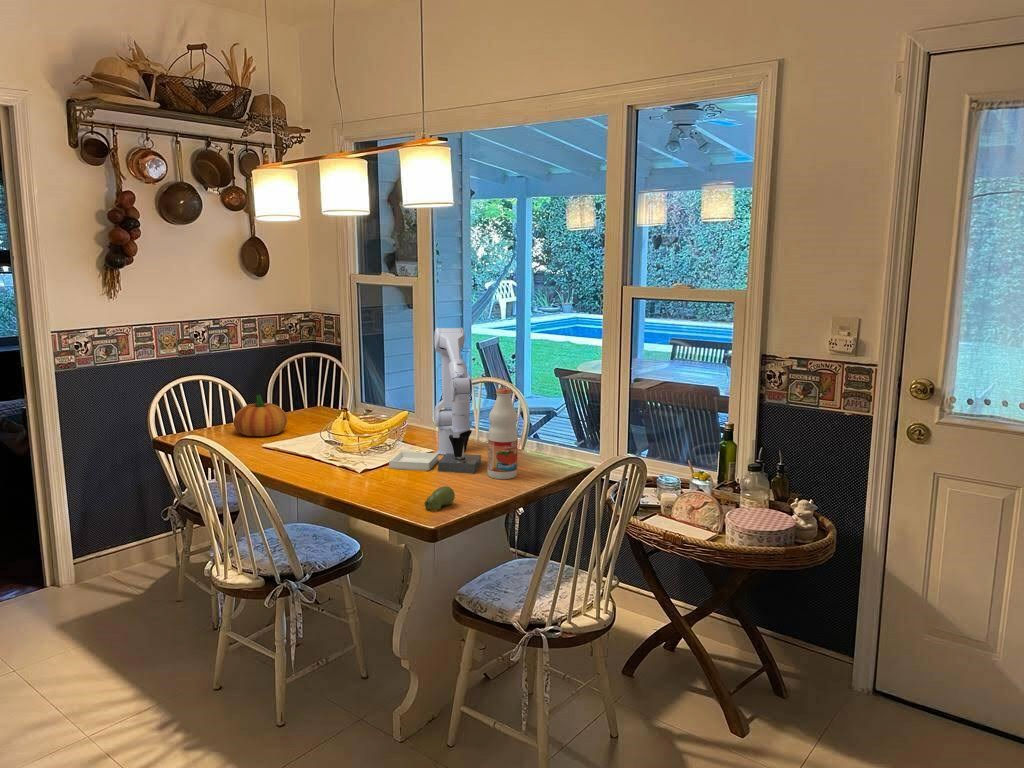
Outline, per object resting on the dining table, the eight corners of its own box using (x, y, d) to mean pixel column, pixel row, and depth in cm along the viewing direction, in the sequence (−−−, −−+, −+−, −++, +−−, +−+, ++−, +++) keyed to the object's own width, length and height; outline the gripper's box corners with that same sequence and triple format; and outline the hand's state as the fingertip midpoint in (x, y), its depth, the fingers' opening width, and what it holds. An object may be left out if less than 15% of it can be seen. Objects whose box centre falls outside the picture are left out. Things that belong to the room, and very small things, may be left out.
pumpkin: (278, 440, 288) (277, 400, 286) (226, 438, 288) (225, 399, 286) (293, 428, 307) (292, 391, 305) (244, 427, 307) (243, 390, 305)
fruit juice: (502, 470, 255) (504, 385, 250) (522, 476, 248) (525, 389, 244) (481, 475, 248) (482, 388, 244) (501, 481, 242) (503, 392, 237)
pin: (457, 466, 258) (457, 442, 257) (464, 466, 258) (464, 443, 256) (455, 468, 256) (456, 444, 254) (462, 468, 255) (463, 444, 254)
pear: (457, 485, 217) (434, 499, 210) (459, 502, 219) (436, 517, 211) (442, 481, 221) (419, 495, 213) (444, 498, 222) (420, 513, 214)
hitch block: (446, 461, 263) (446, 453, 263) (481, 463, 262) (481, 455, 261) (438, 471, 252) (438, 462, 251) (474, 473, 250) (474, 464, 249)
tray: (400, 458, 266) (400, 451, 266) (438, 460, 264) (438, 453, 264) (389, 468, 253) (389, 460, 253) (428, 471, 251) (428, 463, 251)
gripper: (453, 409, 261) (453, 448, 264) (443, 417, 247) (443, 459, 249) (474, 410, 260) (473, 449, 263) (465, 418, 246) (464, 460, 248)
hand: (460, 454), depth 256 cm, fingers open, 6 cm apart
